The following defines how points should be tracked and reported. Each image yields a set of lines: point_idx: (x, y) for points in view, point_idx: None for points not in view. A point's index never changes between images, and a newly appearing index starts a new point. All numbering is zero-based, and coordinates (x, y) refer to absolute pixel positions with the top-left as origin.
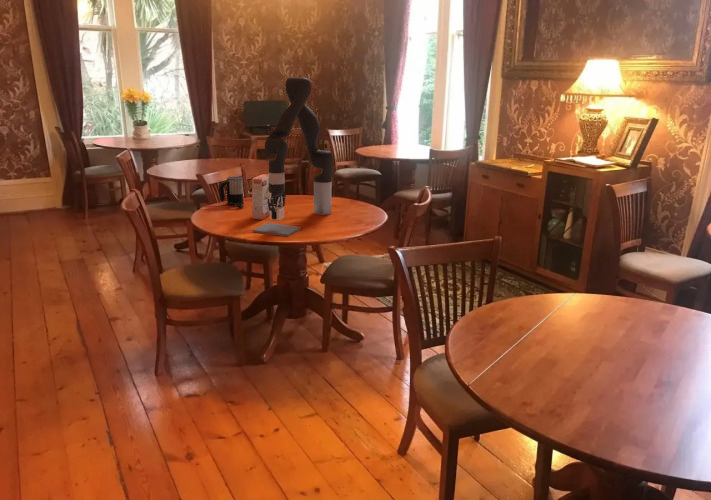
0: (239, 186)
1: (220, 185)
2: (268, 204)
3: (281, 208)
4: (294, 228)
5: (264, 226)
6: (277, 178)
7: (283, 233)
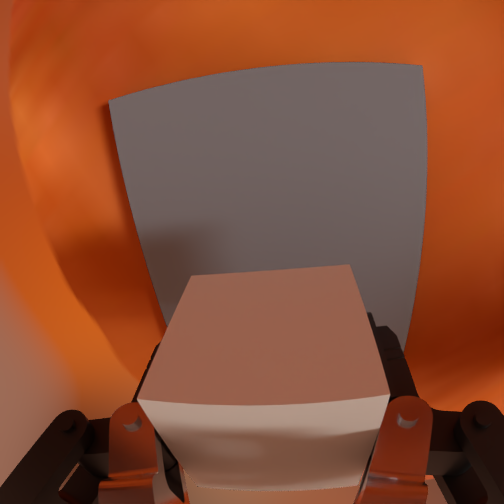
0: None
1: None
2: (8, 487)
3: (292, 486)
4: None
5: (275, 110)
6: None
7: None
